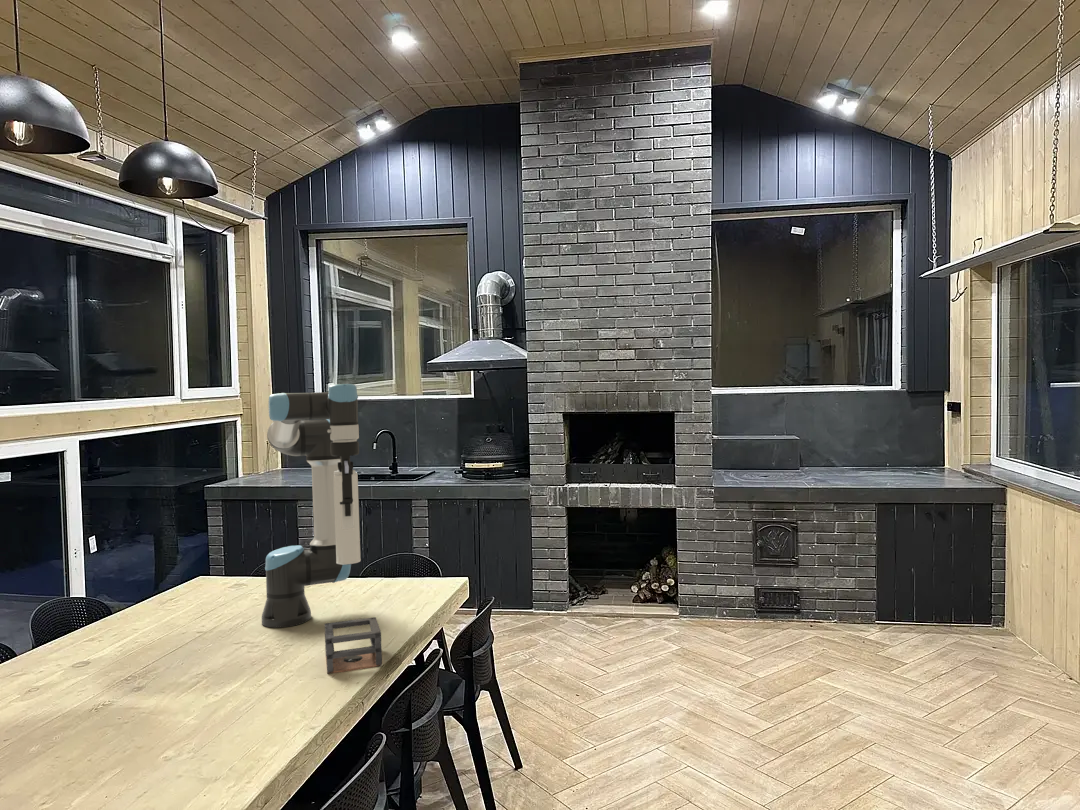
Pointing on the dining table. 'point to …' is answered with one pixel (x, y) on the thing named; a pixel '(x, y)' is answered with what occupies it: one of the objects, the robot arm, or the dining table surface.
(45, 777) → the dining table surface
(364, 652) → the collar stand
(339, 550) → the white tall cylinder
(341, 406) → the robot arm
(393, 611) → the dining table surface
